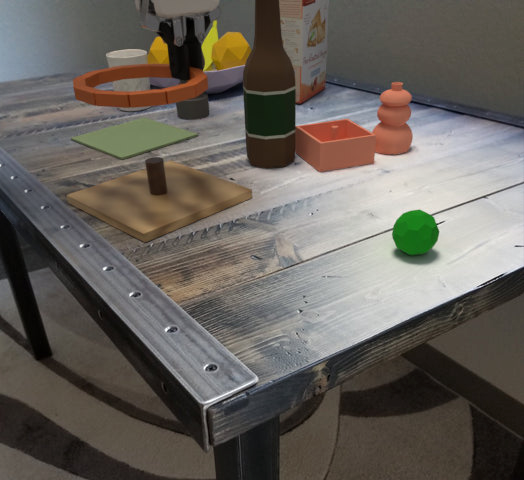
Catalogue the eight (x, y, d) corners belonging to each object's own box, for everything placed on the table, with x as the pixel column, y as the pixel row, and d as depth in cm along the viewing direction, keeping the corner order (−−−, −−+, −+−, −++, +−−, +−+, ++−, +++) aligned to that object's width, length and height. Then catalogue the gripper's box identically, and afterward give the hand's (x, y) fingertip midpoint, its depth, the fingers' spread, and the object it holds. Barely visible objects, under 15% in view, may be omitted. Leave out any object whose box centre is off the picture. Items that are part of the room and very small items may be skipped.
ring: (124, 115, 62) (122, 101, 61) (51, 91, 71) (48, 79, 70) (232, 88, 71) (232, 75, 70) (155, 69, 80) (153, 58, 79)
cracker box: (303, 105, 116) (304, -19, 103) (275, 102, 118) (273, -19, 106) (327, 88, 126) (331, -26, 113) (302, 86, 128) (303, -26, 116)
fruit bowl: (218, 108, 116) (214, 45, 109) (115, 95, 127) (105, 37, 120) (285, 78, 135) (284, 23, 128) (190, 69, 146) (185, 17, 139)
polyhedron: (381, 249, 66) (385, 210, 64) (413, 238, 68) (418, 199, 66) (412, 267, 63) (417, 226, 60) (444, 254, 65) (451, 215, 62)
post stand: (145, 242, 70) (137, 198, 66) (68, 203, 80) (58, 163, 77) (252, 197, 80) (250, 157, 76) (171, 167, 90) (166, 130, 87)
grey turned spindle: (194, 121, 110) (178, -38, 94) (171, 116, 113) (152, -39, 97) (216, 113, 113) (204, -41, 98) (192, 108, 116) (177, -41, 101)
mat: (122, 160, 93) (121, 157, 93) (70, 140, 103) (70, 137, 102) (198, 136, 102) (198, 133, 102) (144, 119, 111) (144, 117, 111)
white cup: (162, 104, 120) (155, 51, 114) (136, 114, 114) (127, 58, 108) (133, 100, 123) (125, 48, 117) (107, 109, 118) (97, 55, 112)
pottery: (319, 172, 86) (322, 102, 80) (295, 152, 94) (295, 87, 88) (424, 154, 91) (433, 87, 85) (393, 137, 98) (400, 74, 92)
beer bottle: (305, 161, 90) (308, -21, 76) (264, 173, 87) (258, -16, 72) (276, 149, 95) (274, -25, 81) (236, 159, 92) (226, -20, 78)
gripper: (202, -103, 70) (213, 63, 81) (91, -102, 62) (120, 84, 73) (245, -105, 66) (250, 71, 77) (131, -104, 57) (156, 93, 69)
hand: (187, 76), depth 75 cm, fingers closed on ring, 1 cm apart
